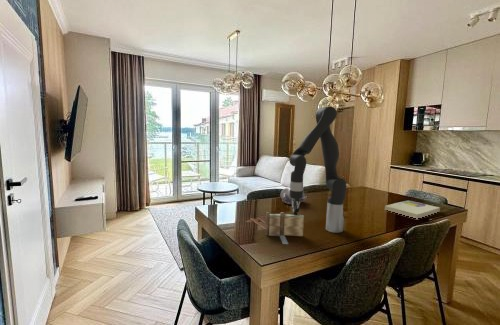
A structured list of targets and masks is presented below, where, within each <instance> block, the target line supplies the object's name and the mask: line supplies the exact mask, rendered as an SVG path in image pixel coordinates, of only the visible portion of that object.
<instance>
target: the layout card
mask: <svg viewBox="0 0 500 325" xmlns="http://www.w3.org/2000/svg"><path fill="white" fill-rule="evenodd" d="M274 236H275V237H279V238H280V241H281V243H282V245H289V242H288V240H287V237H286V235H268V237H274Z"/></svg>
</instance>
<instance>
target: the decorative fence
mask: <svg viewBox="0 0 500 325" xmlns="http://www.w3.org/2000/svg"><path fill="white" fill-rule="evenodd" d="M261 222H262V223H261ZM245 223H255V224H256V225H257V226H259V227H260V228H262V229H263V230H265V231H266V217H261V216H257V218H254V217H252V218H251V217H250V218H249V219H248V220H245ZM263 223H264V224H265V225H264V224H263Z"/></svg>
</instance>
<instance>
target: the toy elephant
mask: <svg viewBox="0 0 500 325" xmlns="http://www.w3.org/2000/svg"><path fill="white" fill-rule="evenodd" d="M289 195H290V186H287V187H285V188H283V189H282V190H281V191H280V194H279V196H280V198H281V199H282V202H284V203H285V204H287V205H292V200H293V198H291V197H290V196H289ZM307 197H308V196H307V195H306V196H305V192H303V197H302V198H300V199H299V201H300V203H302V202H304V201H306V199H307Z"/></svg>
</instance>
